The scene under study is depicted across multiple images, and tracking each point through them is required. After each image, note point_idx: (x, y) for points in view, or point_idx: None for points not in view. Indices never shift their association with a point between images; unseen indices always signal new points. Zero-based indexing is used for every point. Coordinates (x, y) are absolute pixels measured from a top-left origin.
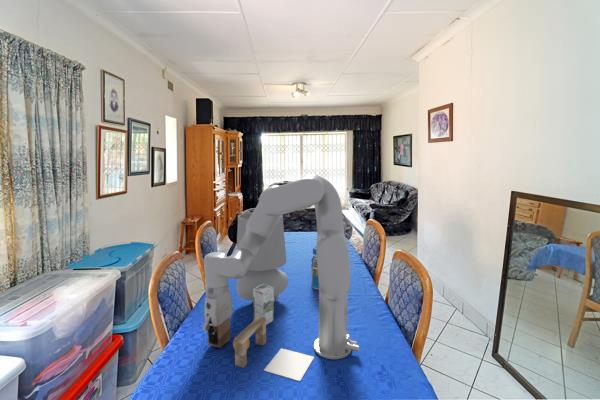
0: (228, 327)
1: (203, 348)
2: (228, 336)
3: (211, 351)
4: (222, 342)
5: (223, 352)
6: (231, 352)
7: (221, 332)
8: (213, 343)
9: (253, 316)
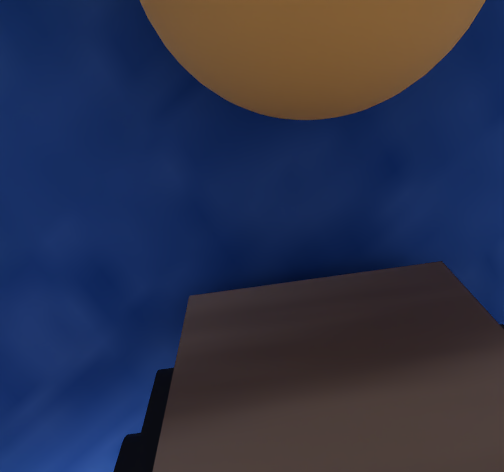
0: (217, 447)
1: None
2: (235, 323)
3: None
4: (396, 295)
5: (438, 184)
6: None
7: (498, 431)
8: None
9: None
